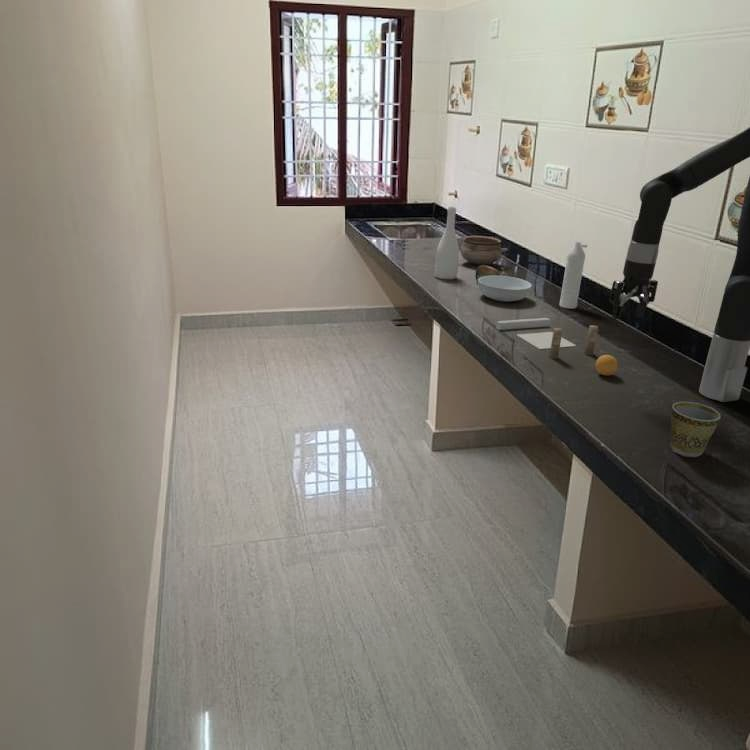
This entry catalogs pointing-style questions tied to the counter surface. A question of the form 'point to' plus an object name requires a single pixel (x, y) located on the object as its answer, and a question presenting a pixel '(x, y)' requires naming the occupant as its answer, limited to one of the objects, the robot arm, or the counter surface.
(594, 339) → the post right
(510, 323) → the wall
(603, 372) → the ball
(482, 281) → the serving bowl
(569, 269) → the white pump bottle
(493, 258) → the cooking pot
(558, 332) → the post left
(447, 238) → the wine bottle
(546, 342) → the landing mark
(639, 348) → the counter surface
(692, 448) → the ceramic cup
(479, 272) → the tin
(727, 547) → the counter surface
